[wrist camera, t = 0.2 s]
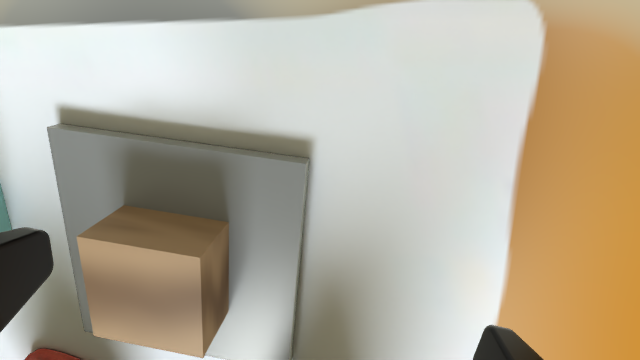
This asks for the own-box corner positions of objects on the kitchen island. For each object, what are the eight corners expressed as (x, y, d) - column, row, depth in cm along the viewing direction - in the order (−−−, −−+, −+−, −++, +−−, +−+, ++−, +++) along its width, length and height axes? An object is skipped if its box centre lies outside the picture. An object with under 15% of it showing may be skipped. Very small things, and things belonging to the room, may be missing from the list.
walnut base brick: (228, 311, 26) (203, 358, 22) (133, 293, 26) (93, 335, 23) (228, 222, 23) (200, 257, 19) (123, 205, 24) (76, 236, 20)
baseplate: (291, 360, 28) (288, 372, 27) (93, 321, 29) (84, 331, 28) (309, 158, 22) (306, 163, 21) (59, 123, 23) (46, 127, 22)
